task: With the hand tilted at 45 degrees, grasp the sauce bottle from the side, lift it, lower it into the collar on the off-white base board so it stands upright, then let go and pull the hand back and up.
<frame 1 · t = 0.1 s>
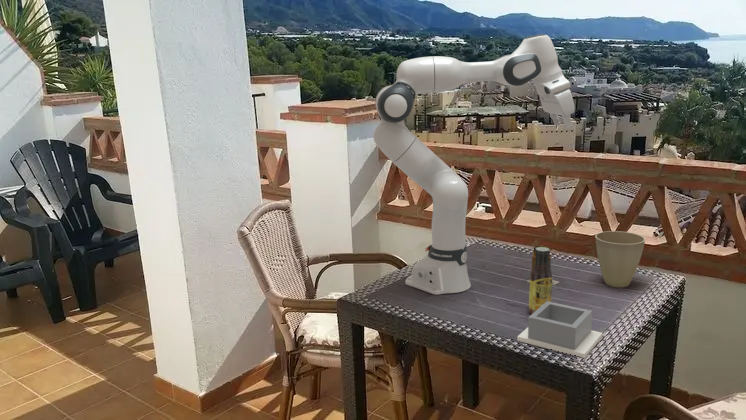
hand: (563, 125, 186), 52 cm above the table, tool tilted 20°, fingers open, 8 cm apart
condiment: (542, 282, 197), on the table
plant pot: (617, 284, 193), on the table
sauce bottle: (539, 313, 174), on the table
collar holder: (559, 338, 157), on the table
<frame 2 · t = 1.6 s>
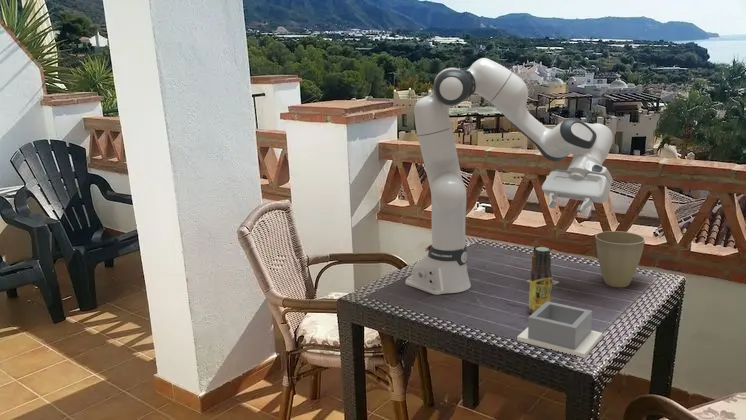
hand: (565, 209, 174), 29 cm above the table, tool tilted 45°, fingers open, 8 cm apart
nothing on the table moved.
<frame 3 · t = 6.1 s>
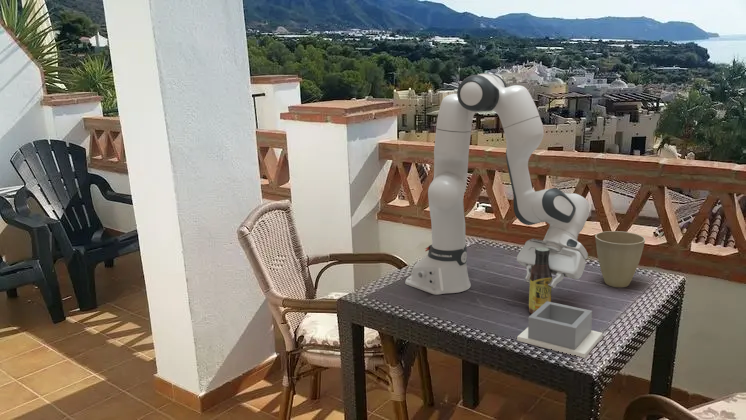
hand: (539, 283, 171), 9 cm above the table, tool tilted 45°, fingers closed on sauce bottle, 6 cm apart
sauce bottle: (539, 313, 174), on the table, touching gripper
everything else where it was.
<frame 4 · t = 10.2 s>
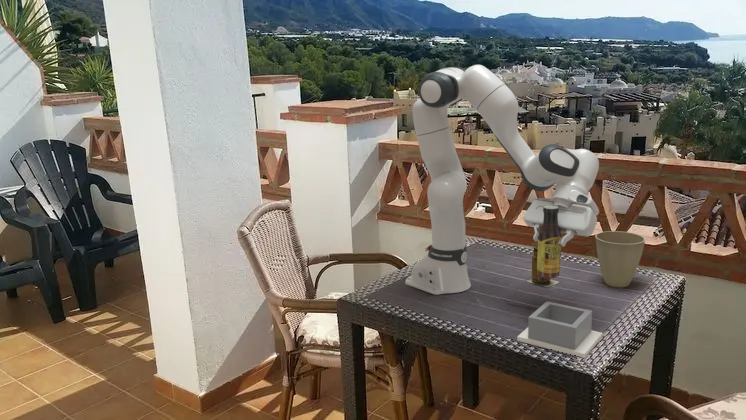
hand: (548, 242, 162), 24 cm above the table, tool tilted 45°, fingers closed on sauce bottle, 6 cm apart
sauce bottle: (548, 276, 165), point 14 cm above the table, touching gripper
everything else where it was.
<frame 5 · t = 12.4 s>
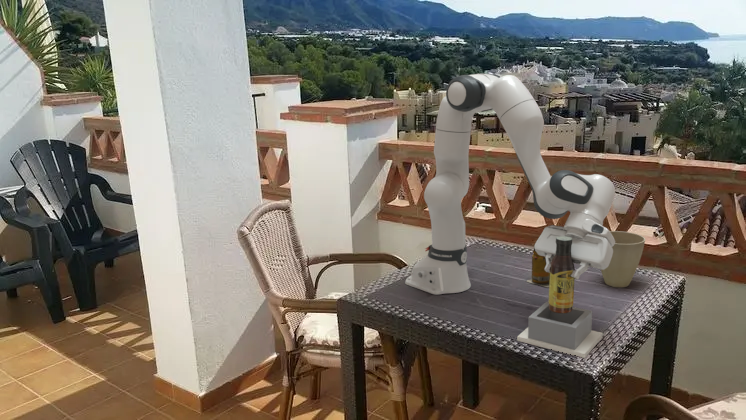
hand: (560, 274, 152), 18 cm above the table, tool tilted 45°, fingers closed on sauce bottle, 6 cm apart
sauce bottle: (561, 310, 155), point 8 cm above the table, touching gripper
everything else where it was.
when the fingers open (12 cm above the table, at t = 14.4 s): sauce bottle stays where it is, resting on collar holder.
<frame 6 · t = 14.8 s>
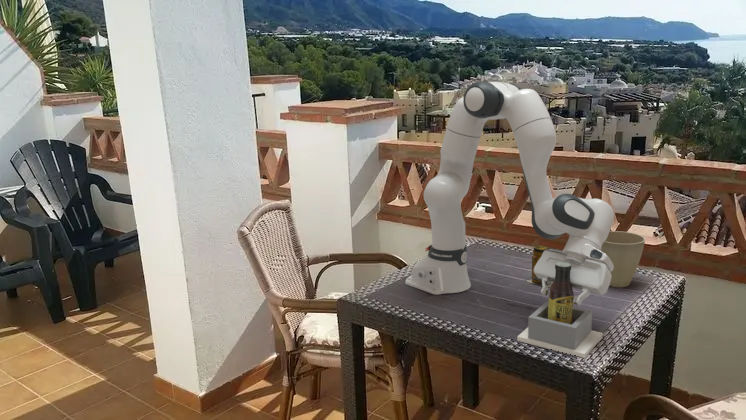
hand: (559, 298, 154), 12 cm above the table, tool tilted 45°, fingers open, 8 cm apart
sauce bottle: (559, 335, 157), point 1 cm above the table, touching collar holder
everything else where it was.
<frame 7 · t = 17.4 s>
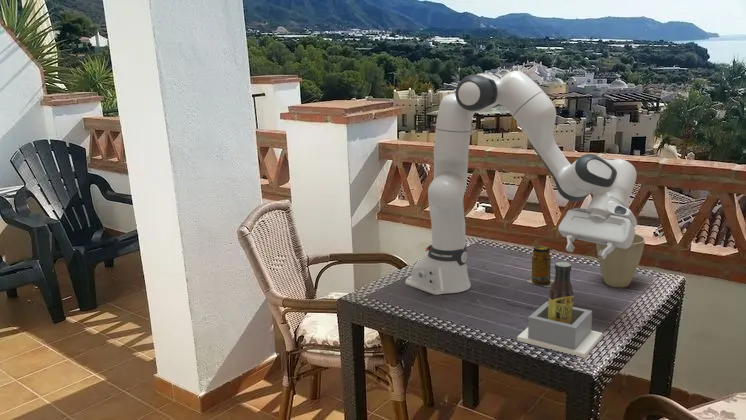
hand: (584, 254, 159), 21 cm above the table, tool tilted 45°, fingers open, 8 cm apart
nothing on the table moved.
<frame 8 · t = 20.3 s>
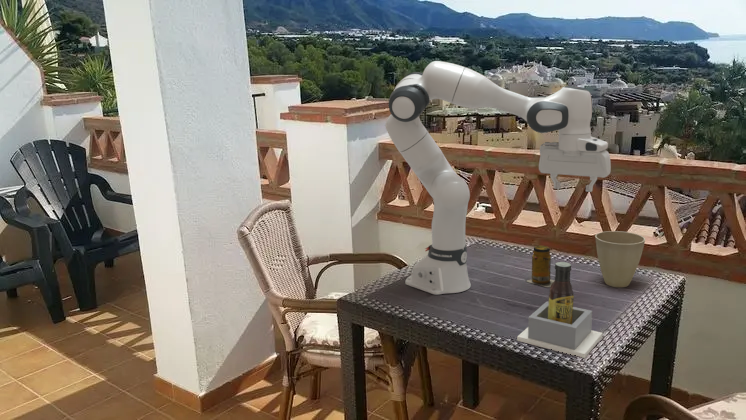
hand: (572, 189, 172), 35 cm above the table, tool pointing down, fingers open, 8 cm apart
nothing on the table moved.
at the end: sauce bottle 0.1 cm off-centre on the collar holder, point 1.0 cm above the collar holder's base; sauce bottle tilted 0°; the gripper is holding nothing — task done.
